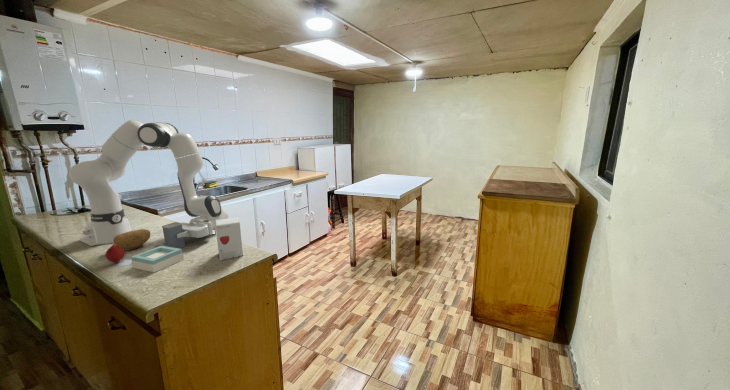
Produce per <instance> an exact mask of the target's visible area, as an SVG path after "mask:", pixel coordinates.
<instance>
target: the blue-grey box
mask: <svg viewBox="0 0 730 390" xmlns="http://www.w3.org/2000/svg"><path fill="white" fill-rule="evenodd" d="M182 223H183V222H178V221H173V222H170V223H168V224H165V225H162V226H161V227H162V233H163V238H164V244H165V245H164V246H166V247H172V248H178V249H182V248H183V247H185V246H186V244H185V237H181V238H176V236H175V235H176V234H177V233H183V229H182Z"/></svg>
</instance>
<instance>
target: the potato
mask: <svg viewBox="0 0 730 390" xmlns="http://www.w3.org/2000/svg"><path fill="white" fill-rule="evenodd" d="M150 238H151V231H150V230H149V229H145V228H139V229H136V230H135V229H134V230H131V231H129V232H126V233H122V234H119V235H117V236H116V237H114V240H113V241H114V243H113V244H116V246H119V247H121V248H123V249H124V250H135V249H137V248H140V247H142V246H143V245H145V244H146V243H147V242H148V240H150Z"/></svg>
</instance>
